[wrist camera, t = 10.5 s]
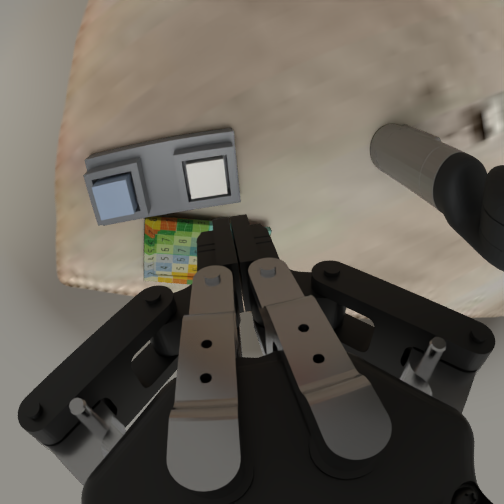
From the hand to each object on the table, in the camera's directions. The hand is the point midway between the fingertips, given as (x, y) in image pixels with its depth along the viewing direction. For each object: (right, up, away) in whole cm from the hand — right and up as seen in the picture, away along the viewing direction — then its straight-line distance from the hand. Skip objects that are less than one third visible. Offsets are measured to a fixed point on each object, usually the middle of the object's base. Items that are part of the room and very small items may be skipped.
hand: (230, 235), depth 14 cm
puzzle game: (-7, +1, +40) cm, 41 cm away
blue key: (-18, +8, +27) cm, 33 cm away
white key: (-6, +11, +29) cm, 32 cm away
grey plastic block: (-13, +11, +31) cm, 36 cm away
